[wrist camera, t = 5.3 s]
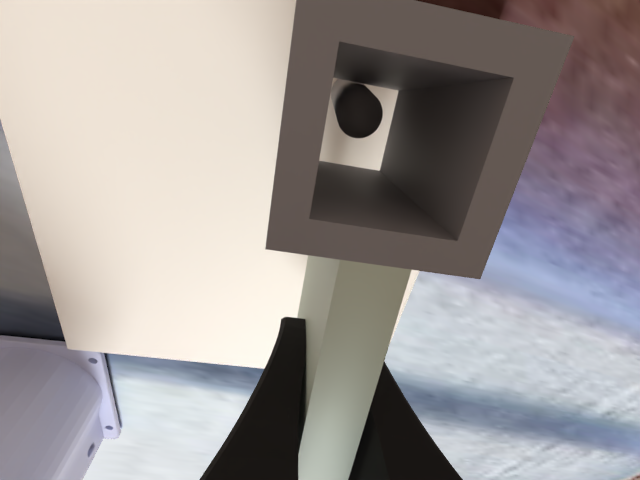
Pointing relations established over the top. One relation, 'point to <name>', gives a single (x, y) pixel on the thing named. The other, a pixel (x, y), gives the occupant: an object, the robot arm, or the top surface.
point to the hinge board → (165, 167)
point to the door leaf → (395, 183)
